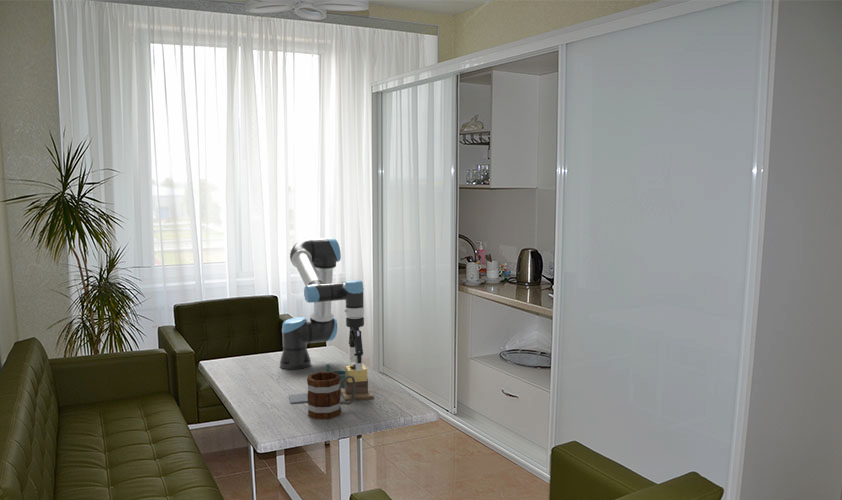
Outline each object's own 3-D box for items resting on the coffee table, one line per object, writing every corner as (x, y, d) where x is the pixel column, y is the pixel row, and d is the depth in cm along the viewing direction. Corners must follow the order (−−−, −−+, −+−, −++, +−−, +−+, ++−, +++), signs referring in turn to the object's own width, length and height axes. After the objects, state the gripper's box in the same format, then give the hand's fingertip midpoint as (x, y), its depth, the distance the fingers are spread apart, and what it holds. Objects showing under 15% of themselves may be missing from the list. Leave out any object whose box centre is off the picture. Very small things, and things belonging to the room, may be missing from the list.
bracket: (351, 384, 296) (351, 365, 296) (332, 388, 292) (331, 368, 291) (343, 379, 304) (342, 360, 303) (324, 383, 300) (324, 363, 299)
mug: (312, 421, 252) (311, 383, 250) (303, 410, 264) (302, 374, 262) (361, 414, 259) (360, 376, 258) (350, 403, 272) (350, 367, 270)
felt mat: (288, 396, 281) (288, 394, 281) (312, 393, 284) (312, 392, 284) (290, 403, 272) (290, 402, 272) (315, 401, 275) (315, 400, 275)
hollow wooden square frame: (345, 377, 284) (345, 365, 284) (363, 375, 286) (363, 364, 286) (348, 382, 277) (348, 370, 276) (367, 380, 279) (367, 369, 278)
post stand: (340, 391, 287) (339, 361, 286) (367, 388, 291) (366, 359, 289) (345, 401, 274) (344, 370, 273) (373, 398, 277) (373, 368, 276)
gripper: (341, 312, 290) (342, 359, 292) (351, 323, 266) (352, 374, 268) (358, 311, 292) (359, 358, 294) (369, 322, 268) (370, 373, 270)
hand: (356, 366), depth 281 cm, fingers open, 13 cm apart
